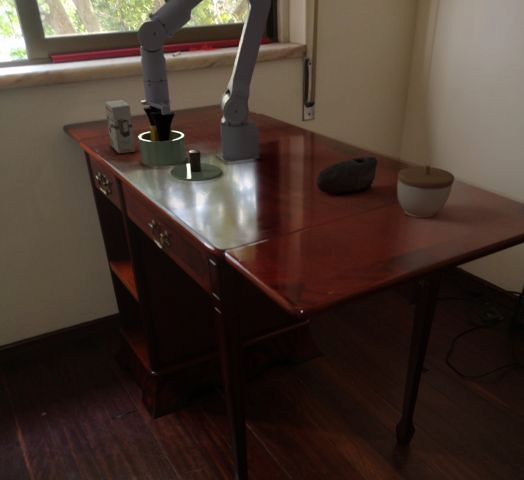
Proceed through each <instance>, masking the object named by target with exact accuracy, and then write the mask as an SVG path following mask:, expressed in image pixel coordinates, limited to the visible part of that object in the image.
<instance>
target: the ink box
mask: <svg viewBox="0 0 524 480" xmlns="http://www.w3.org/2000/svg"><path fill="white" fill-rule="evenodd" d="M104 105H105V106H104V107H105V114H106V121H107V128H108V134H109V140H110V146H111V148H113V150H115V151H116V153H118V154H126V153H134V152H136V144H135V137H134V129H133V121H132V114H131V106H130V104H128V103H127V102H126V101H124V100H123V99H117V100H109V101H104Z"/></svg>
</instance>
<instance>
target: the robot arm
mask: <svg viewBox="0 0 524 480" xmlns="http://www.w3.org/2000/svg"><path fill="white" fill-rule="evenodd" d="M203 1H204V0H164V4H163V5H162V6H160V7H159V8H158V9H157V10H156V11H154V13H152V12H150V13H149V14H148V15H147V16H148V18H149V20H145V21H143V22H141V24H140V25H139V27H138V29H137V30H138V31H137V40H138V43H139V44H140V49H139V53H140V56H141V57H140V64H141V71H142V72H141V73H142V81H143V89H144V98H145V99H144V100H140V104H141V105H142V106H146V107H143V111H144V113H145V114H146V116H147V119H148V121H149V123H150V126H155V125H156V129H157V133H158V137H159V140H160V141H169V136H170V128H172V127H171V126H172V122H173V119H174V118H175V112H174V111H171V99H170V92H169V91H170V90H169V82H168V71H167V70H168V69H167V62H166V60H167V59H166V56H165V54H164V44H165V39H171V38H173V36H174V35H175V34H176V33H177V32H179V31H180V30H181V29H182V28H184V26H185V25H186V24H187V23H189V22H190V21H191V18H192V10H194V9H195V8H196V7H197V6H199V5H200V4H201V3H202V2H203ZM246 3H247V4H248V7H247V11H246V14H245V18H244V22H243V27H242V31H241V35H240V38H239V39H240V40H239V43H238V48H237V50H236V51H237V52H236V56H235V59H234V64H233V68H232V73H231V77H230V79H229V82H228V84H227V86H226V89H225V91H224V93H223V94H222V96H221V97H220V100H219V108H220V110H221V112H222V114H223V116H222V118H221V119H220V120H219V122H220V123H219V124H220V125H219V126H220V127H219V128H220V147H221V148H220V149H221V152H220V153H216V156H217V157H218V158H220V159H222V160H223V161H224V162H225V163H233V162H241V161H247V160H248V161H249V160H256V159H260V158H261V157H260V132H259V127H258V124H257V123H256V122H255V121H254V120H250V119H249V118H248V117H249V113H250V108H249V99H250V89H251V83H252V80H253V79H252V78H253V75H254V71H255V67H256V63H257V60H258V55H259V51H260V48H261V43H262V40H263V36H264V32H265V29H266V25H267V22H268V17H269V13H270V10H271V6H272V0H246ZM249 120H250V121H249Z"/></svg>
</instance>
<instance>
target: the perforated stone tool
mask: <svg viewBox="0 0 524 480" xmlns="http://www.w3.org/2000/svg"><path fill="white" fill-rule="evenodd" d="M377 165H378V159H377V158H376V157H375V156H366V157H364V156H363V157H355V158H350V159H346V160H343V161H340V162H339V161H338V162H337V163H334V164H331V165H329V166H327V167H326V168H324V169H323V170H322V171H320V172H319V174H318V176H317V179H316V187H317V188H318V190H320V192H322V193H325V194H348V193H356V192H359V191H362V190H368V189H371V188H372V185H373V182H374V180H375V177H376V171H377V170H376V169H377Z"/></svg>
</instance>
